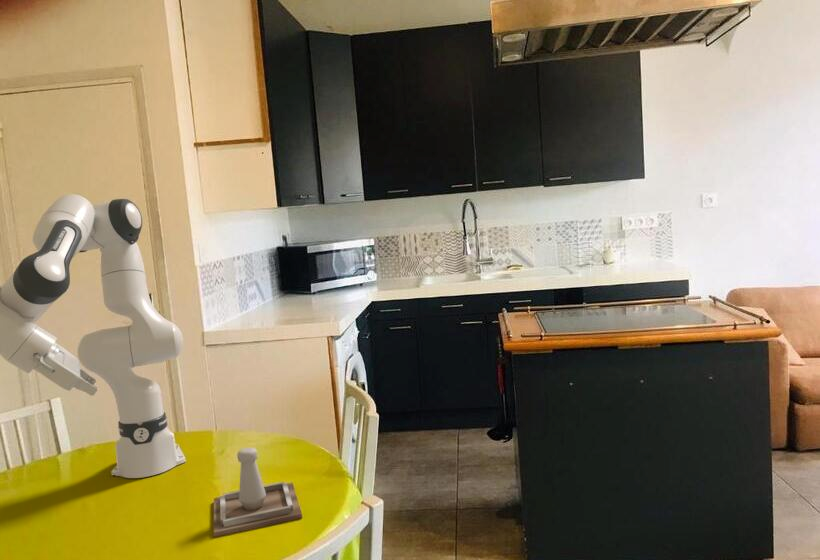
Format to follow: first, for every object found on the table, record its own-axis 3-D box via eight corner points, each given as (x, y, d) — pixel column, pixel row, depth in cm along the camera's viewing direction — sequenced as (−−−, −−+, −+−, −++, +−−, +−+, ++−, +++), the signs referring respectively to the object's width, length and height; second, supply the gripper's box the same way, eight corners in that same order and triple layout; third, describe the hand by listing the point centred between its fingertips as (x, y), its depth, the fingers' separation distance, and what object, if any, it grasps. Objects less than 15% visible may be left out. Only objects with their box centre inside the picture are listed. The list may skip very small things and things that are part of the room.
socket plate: (214, 502, 155) (213, 493, 155) (292, 486, 160) (291, 477, 160) (214, 537, 138) (213, 526, 138) (302, 518, 143) (301, 508, 142)
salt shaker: (260, 512, 145) (253, 454, 144) (235, 512, 146) (228, 454, 145) (271, 500, 151) (264, 444, 149) (247, 500, 152) (240, 445, 150)
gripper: (44, 345, 130) (106, 384, 135) (47, 332, 148) (102, 367, 153) (21, 372, 128) (85, 411, 134) (27, 356, 147) (83, 390, 152)
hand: (94, 387), depth 144 cm, fingers open, 8 cm apart
